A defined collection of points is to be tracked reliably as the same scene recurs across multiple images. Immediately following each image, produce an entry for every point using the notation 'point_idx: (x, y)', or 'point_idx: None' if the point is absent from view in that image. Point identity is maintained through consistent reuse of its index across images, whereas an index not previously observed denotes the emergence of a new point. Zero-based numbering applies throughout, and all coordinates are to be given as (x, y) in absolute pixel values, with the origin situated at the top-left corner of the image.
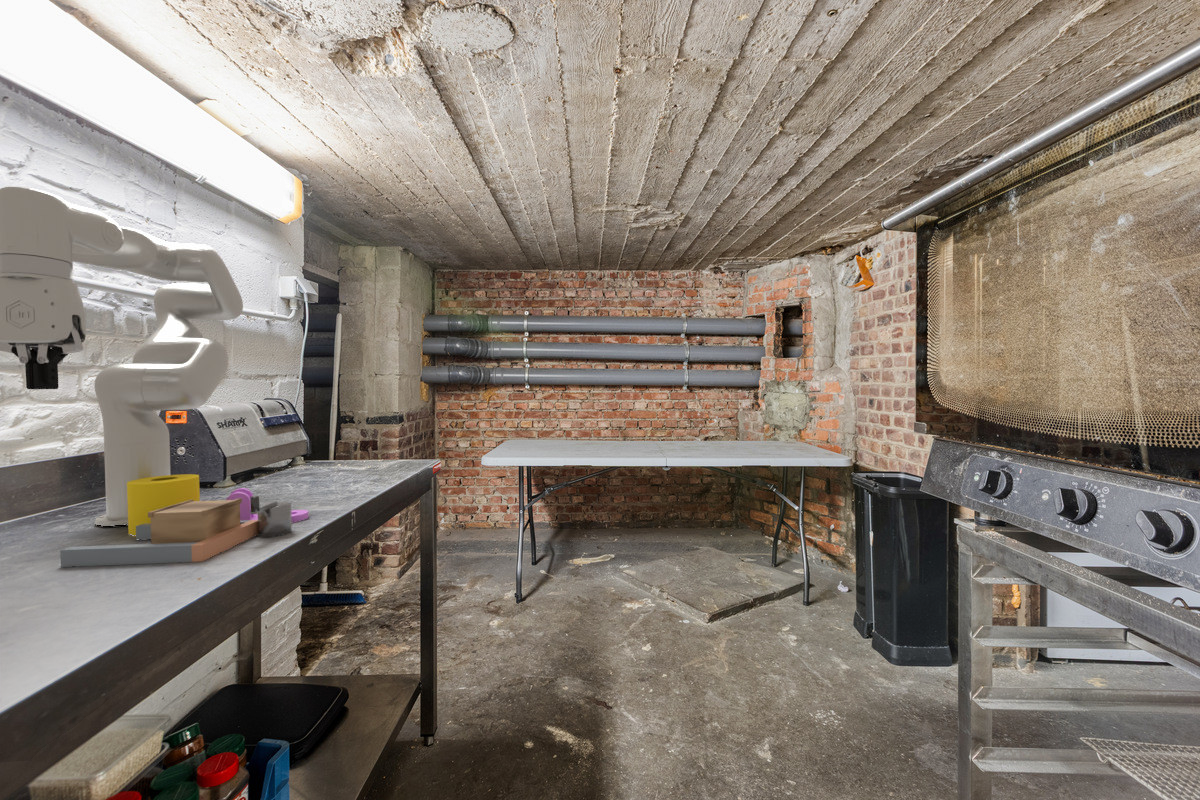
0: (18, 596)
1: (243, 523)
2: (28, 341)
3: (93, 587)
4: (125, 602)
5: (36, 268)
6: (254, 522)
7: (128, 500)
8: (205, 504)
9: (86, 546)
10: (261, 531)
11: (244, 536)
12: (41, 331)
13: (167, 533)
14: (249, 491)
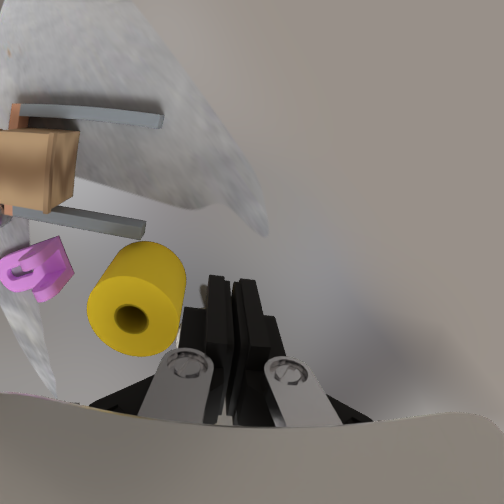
0: (142, 25)
1: None
2: (218, 427)
3: (85, 37)
4: (43, 3)
5: None
6: None
7: (167, 277)
8: (15, 180)
9: (137, 124)
10: None
11: None
12: (49, 483)
13: (49, 131)
14: (33, 293)
